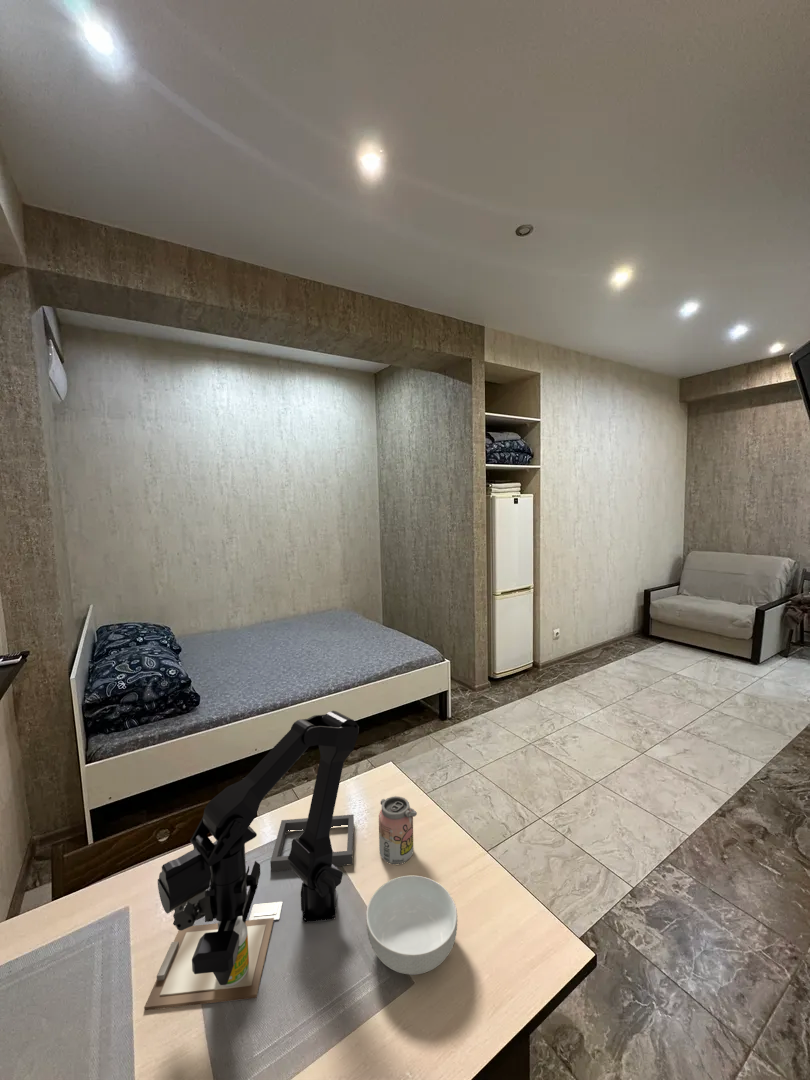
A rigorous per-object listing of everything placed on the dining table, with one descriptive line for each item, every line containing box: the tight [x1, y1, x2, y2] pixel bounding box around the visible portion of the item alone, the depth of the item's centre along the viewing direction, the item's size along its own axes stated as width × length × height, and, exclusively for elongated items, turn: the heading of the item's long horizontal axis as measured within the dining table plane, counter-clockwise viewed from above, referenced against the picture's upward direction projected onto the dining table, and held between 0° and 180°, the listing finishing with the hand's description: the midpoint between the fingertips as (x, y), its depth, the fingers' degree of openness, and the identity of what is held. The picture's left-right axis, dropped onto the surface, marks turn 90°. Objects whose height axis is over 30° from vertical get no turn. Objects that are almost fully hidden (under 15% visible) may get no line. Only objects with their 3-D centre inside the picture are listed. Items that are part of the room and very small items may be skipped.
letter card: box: [248, 901, 283, 922], centre depth 89 cm, size 6×4×1 cm, turn 95°
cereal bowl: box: [365, 874, 458, 976], centre depth 82 cm, size 17×17×7 cm
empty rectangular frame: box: [270, 813, 355, 873], centre depth 107 cm, size 18×13×2 cm
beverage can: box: [378, 795, 418, 865], centre depth 104 cm, size 9×8×12 cm
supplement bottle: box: [217, 916, 249, 987], centre depth 77 cm, size 5×5×10 cm
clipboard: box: [143, 918, 275, 1011], centre depth 80 cm, size 18×14×2 cm
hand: (232, 955), depth 77 cm, fingers open, 9 cm apart
